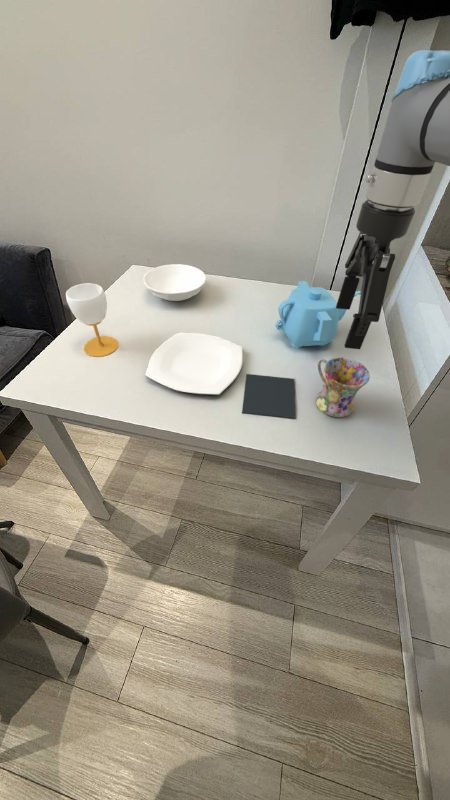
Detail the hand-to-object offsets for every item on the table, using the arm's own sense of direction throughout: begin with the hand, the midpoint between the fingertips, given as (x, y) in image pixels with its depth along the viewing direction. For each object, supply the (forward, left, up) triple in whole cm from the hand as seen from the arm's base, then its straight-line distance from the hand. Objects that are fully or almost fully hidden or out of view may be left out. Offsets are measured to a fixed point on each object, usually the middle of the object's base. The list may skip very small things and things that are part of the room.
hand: (347, 326), depth 63 cm
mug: (-2, -1, -20) cm, 20 cm away
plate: (+6, +32, -20) cm, 38 cm away
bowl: (+40, +45, -20) cm, 63 cm away
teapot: (+24, +2, -20) cm, 31 cm away
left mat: (-2, +13, -20) cm, 23 cm away
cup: (+10, +59, -20) cm, 63 cm away
